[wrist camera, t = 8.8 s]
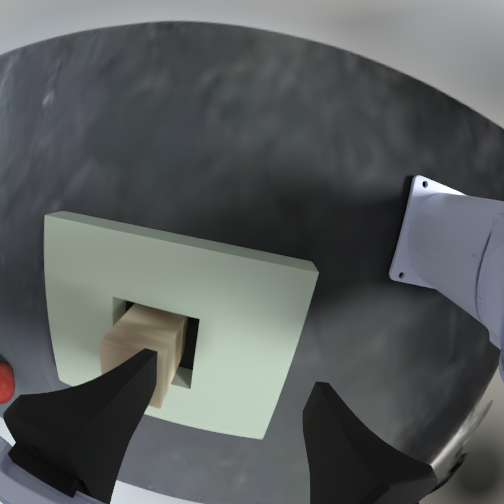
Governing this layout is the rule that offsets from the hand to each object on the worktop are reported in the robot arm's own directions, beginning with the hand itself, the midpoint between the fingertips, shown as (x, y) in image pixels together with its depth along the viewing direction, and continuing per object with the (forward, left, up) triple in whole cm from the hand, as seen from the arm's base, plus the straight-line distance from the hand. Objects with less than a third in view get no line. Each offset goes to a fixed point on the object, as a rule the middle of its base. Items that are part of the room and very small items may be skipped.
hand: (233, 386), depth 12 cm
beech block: (+6, +4, -10) cm, 12 cm away
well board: (+6, +4, -9) cm, 12 cm away
